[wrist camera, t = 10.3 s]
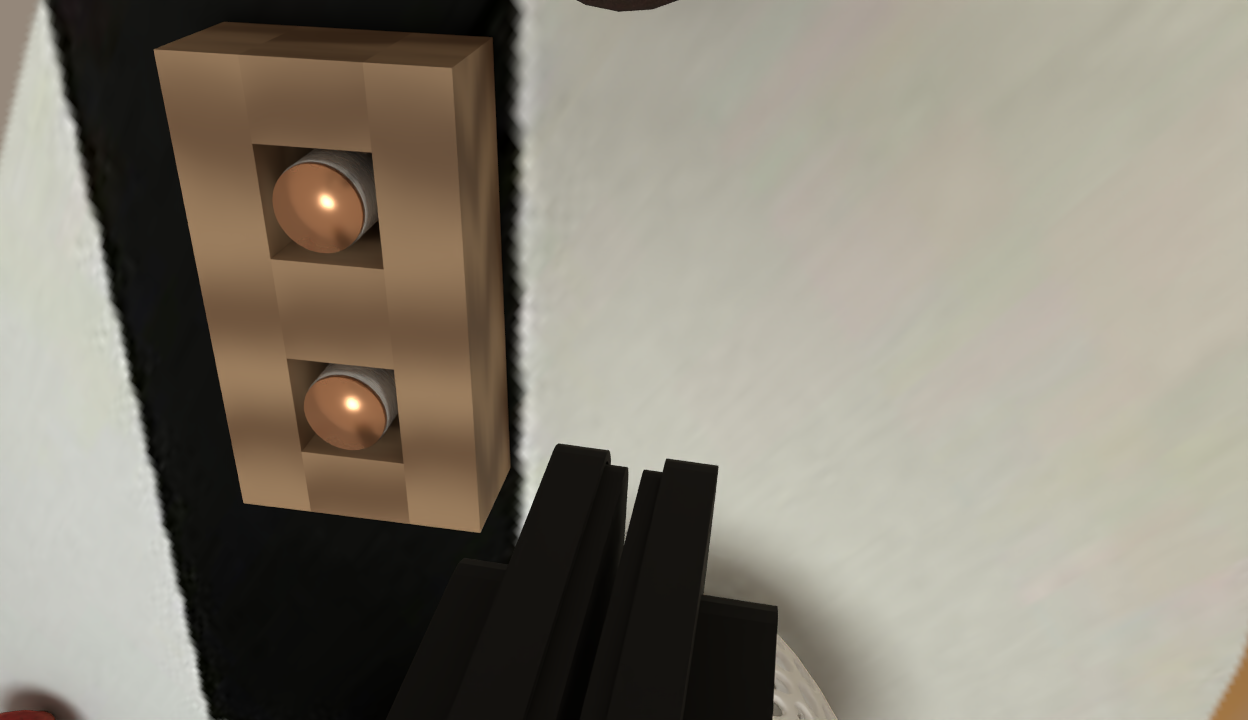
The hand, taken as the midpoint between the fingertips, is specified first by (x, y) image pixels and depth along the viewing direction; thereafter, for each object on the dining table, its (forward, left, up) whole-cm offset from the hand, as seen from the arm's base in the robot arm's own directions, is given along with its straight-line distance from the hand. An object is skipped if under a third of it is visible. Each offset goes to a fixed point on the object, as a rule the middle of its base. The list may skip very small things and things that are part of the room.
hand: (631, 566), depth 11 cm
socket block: (+11, -16, -31) cm, 37 cm away
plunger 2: (+16, -16, -31) cm, 38 cm away
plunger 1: (+7, -16, -31) cm, 35 cm away
